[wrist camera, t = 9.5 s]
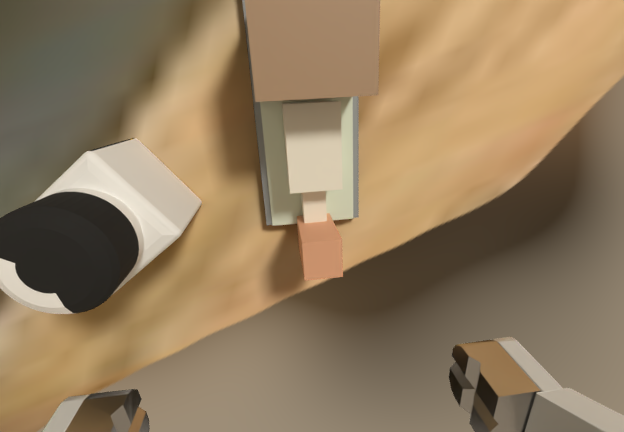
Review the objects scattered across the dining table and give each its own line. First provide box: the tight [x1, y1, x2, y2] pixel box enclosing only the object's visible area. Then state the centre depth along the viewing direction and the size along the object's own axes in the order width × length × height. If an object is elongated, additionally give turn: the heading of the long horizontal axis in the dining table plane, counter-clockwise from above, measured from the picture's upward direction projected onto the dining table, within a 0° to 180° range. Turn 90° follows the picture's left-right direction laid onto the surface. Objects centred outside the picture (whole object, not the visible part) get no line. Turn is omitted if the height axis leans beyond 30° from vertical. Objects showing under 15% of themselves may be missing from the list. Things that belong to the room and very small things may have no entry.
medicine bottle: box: [0, 138, 202, 314], centre depth 21 cm, size 7×7×12 cm
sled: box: [282, 101, 343, 281], centre depth 24 cm, size 12×4×5 cm, turn 3°
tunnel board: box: [242, 0, 380, 226], centre depth 22 cm, size 20×8×8 cm, turn 3°
